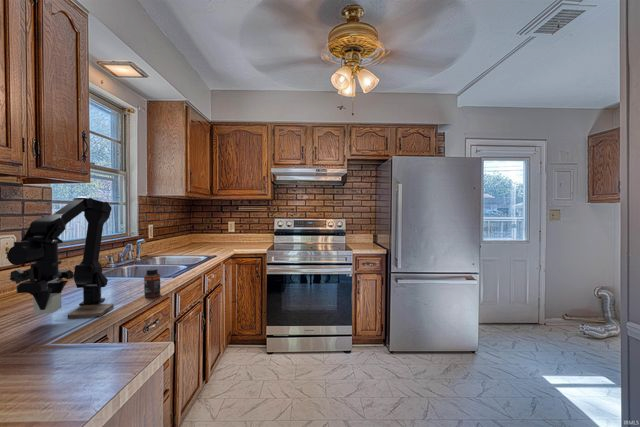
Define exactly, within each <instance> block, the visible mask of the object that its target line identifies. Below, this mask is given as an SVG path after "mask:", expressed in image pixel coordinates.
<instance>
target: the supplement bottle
mask: <svg viewBox="0 0 640 427" xmlns="http://www.w3.org/2000/svg"><path fill="white" fill-rule="evenodd" d="M143 282H144V284H143V288H144V290H143V291H144V293H143V294H144V297H145V298H146V299H147V298H149V299H151V298H156V297H159V296H160V295H161V274H160V273H159V272H158V268H156V267H155V268H153V267H151V268H147V269H146V274H145V275H144V276H143Z"/></svg>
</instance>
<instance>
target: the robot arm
mask: <svg viewBox="0 0 640 427" xmlns="http://www.w3.org/2000/svg"><path fill="white" fill-rule="evenodd" d="M111 212H112V206H111V205H110V203H109V202H107V201H102V200H97V199H94V198H92V197H89V196H76V197H74V198H73V200H72V201H70V202H69V203H67V204H66V205H65V206H63V207H61V208H59V209H58V210H57V211H55V212H54V213H52V214H50V215H46V216H43V217H39V218H37V219H35V220H33V221H31V223H30V224H29V226H28V229H27V230H26V232H25V234H24V235H23V237H22V238H21V240H20V241H14V242H13V246H11V248H9V250H8V252H7V253H6V257H7V261H8V262H9V263H10V264H12V266H13V265H14V266H21V265H26V264H30V268H28V269H25V270H22V269H20V268H19V269H15V270H12V271H10V276H9V277H10V278H9V280H10V281H12V282H14V283H15V284H16V287H15V288H16V293H17V294H29V295H32V297H33V298H35V300H36V302H37V304H38V306H39V308H40V310H45V308H46V305H47V302H48V299H49V296H50V293H61V294H62V293H63V292H62V291H63V290H64V288H65V286H66V285H67V283H68V282H69V280H71V279H73V281H74V283H75V287H76V289H82V301H81V302H80V303H78V305H79V306H83V305H98V304H101V303H102V302H104V301H105V300H106V298H105V297H102V288H105V287H106V286H107V285H108V278H107V277H106V276H105V275H104V274H103V267H102V265H101V263H100V261H99V260H100V253H101V252H100V251H101V244H102V237H103V231H104V225H105V223H106V222H107V221H108V220H109V219H110V215H111ZM82 213H83V214H84V215H83V216H84V218H85V220H86V222H87V229H86V233H85V234H86V235H85V240H84V241H85V242H84V248H83V255H82V260H81V262H80V263H79V264H76V265H75V266H74V272H73V271H72V270H70V269H60V270H59V265H61V264H62V260H59V245H60V244H63V243H64V240H62V239H61V238H59V237H60V236H61V234H63V232H64V231H65V230H66V226H67V224H68V223H70V222H71V221H72V220H74V219H75V218H76V217H77V216H79V215H80V214H82ZM64 279H67V280H64Z"/></svg>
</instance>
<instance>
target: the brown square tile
mask: <svg viewBox="0 0 640 427" xmlns="http://www.w3.org/2000/svg"><path fill="white" fill-rule="evenodd" d="M112 307H113V308H115V306H114V303H103V304H102V303H99V304H92V305H80V307H78V308H76V309H75V310H73V311H72V312H70V313H68V314H67V319H79V318H78V317H84V318H93V317H92V316H101V317H102V315H103V314H104V313H105V314H107V313H108V312H109V311H110V310H112V309H113V308H112ZM111 308H112V309H111ZM109 309H110V310H109ZM108 310H109V311H108ZM107 311H108V312H107ZM105 314H104V315H105ZM104 315H103V316H104Z"/></svg>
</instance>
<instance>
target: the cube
mask: <svg viewBox="0 0 640 427" xmlns="http://www.w3.org/2000/svg"><path fill="white" fill-rule="evenodd" d="M32 299H33V300H32V301H33V315H38V314H39V315H41V314H54V313H55V312H57V311H58V310H60V309H62V292H61V293H50V296H49V299H48V302H47V305H46V308H45V310H40V308H39V306H38V304H37V302H36V300H35V298H34V297H33V298H32Z"/></svg>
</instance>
